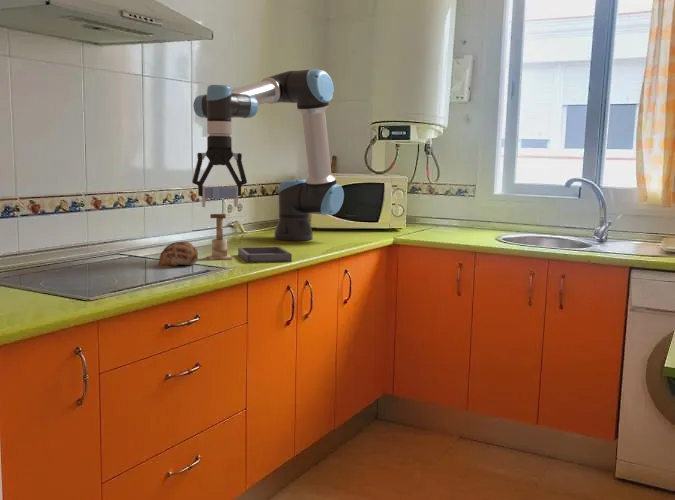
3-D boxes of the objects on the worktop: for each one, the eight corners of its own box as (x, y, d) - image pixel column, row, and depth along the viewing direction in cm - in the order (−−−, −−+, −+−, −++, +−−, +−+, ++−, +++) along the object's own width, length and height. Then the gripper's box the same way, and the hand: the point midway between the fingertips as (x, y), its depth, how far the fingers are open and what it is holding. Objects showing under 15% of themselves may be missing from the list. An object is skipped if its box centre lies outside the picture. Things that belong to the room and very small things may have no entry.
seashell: (178, 258, 226) (190, 232, 221) (195, 276, 222) (207, 250, 217) (151, 262, 217) (162, 235, 213) (168, 280, 213) (180, 253, 209)
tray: (279, 254, 244) (279, 246, 244) (291, 261, 228) (291, 253, 228) (238, 255, 240) (238, 247, 240) (247, 263, 224) (247, 255, 224)
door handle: (228, 256, 237) (228, 213, 235) (232, 259, 230) (232, 215, 228) (207, 257, 235) (207, 213, 233) (210, 260, 228) (210, 215, 226)
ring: (233, 196, 234) (233, 186, 234) (237, 198, 227) (237, 188, 226) (203, 197, 231) (203, 186, 231) (206, 198, 224) (206, 188, 224)
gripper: (252, 136, 234) (252, 205, 237) (182, 134, 227) (183, 205, 231) (256, 135, 227) (256, 207, 230) (184, 134, 220) (185, 208, 223)
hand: (220, 206), depth 230 cm, fingers closed on ring, 10 cm apart
